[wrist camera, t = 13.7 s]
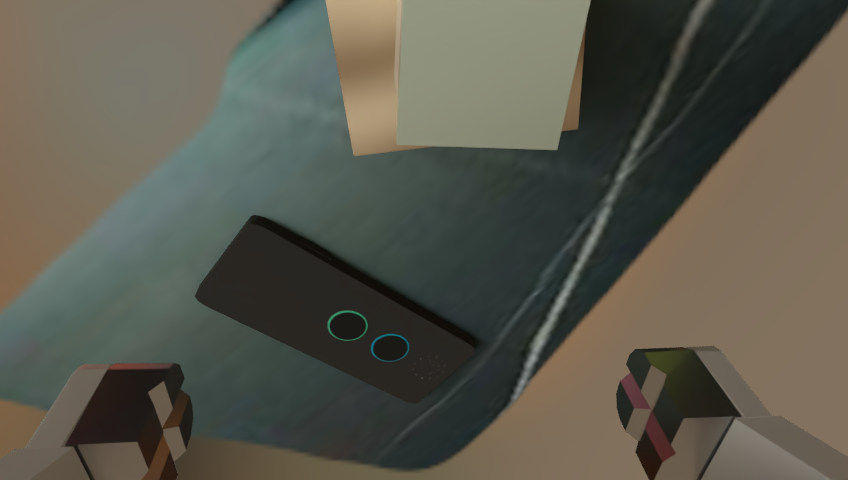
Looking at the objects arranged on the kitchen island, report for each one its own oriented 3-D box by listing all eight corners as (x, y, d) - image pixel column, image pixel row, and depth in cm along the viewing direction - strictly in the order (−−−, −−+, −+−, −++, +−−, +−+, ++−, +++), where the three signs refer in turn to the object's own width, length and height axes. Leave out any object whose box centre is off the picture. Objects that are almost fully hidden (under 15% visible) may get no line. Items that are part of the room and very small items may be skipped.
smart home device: (414, 408, 44) (190, 302, 36) (413, 392, 46) (197, 286, 38) (481, 350, 41) (251, 219, 33) (477, 335, 43) (256, 206, 34)
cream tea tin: (394, -62, 22) (405, -43, 16) (531, -51, 23) (597, -30, 16) (389, 79, 26) (396, 144, 19) (509, 85, 26) (557, 149, 20)
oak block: (315, -117, 25) (304, -118, 21) (561, -144, 25) (599, -151, 21) (355, 121, 32) (353, 156, 28) (550, 98, 32) (577, 129, 28)
